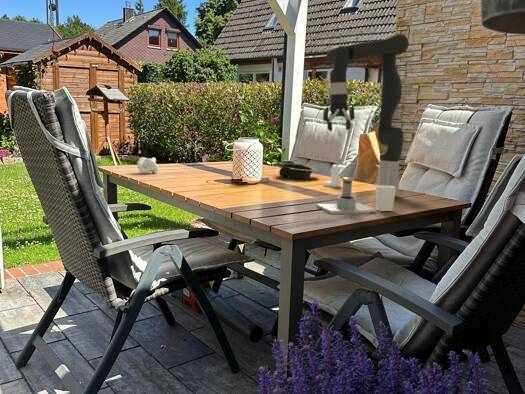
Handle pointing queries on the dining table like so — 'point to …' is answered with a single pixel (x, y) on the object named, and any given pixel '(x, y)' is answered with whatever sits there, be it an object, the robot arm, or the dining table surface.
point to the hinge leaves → (345, 207)
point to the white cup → (385, 197)
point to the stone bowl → (295, 170)
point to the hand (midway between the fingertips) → (339, 130)
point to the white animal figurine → (147, 165)
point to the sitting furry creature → (334, 177)
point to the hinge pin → (347, 187)
